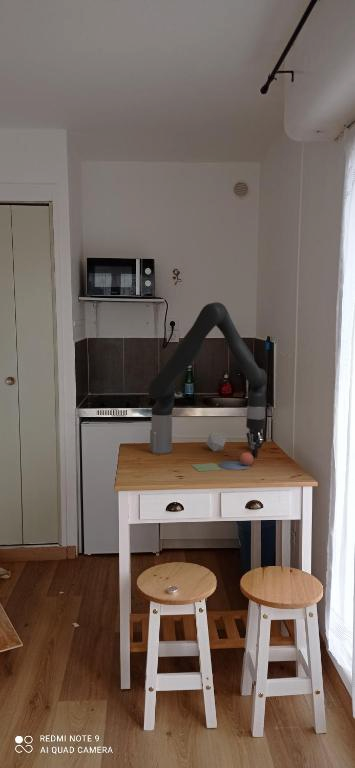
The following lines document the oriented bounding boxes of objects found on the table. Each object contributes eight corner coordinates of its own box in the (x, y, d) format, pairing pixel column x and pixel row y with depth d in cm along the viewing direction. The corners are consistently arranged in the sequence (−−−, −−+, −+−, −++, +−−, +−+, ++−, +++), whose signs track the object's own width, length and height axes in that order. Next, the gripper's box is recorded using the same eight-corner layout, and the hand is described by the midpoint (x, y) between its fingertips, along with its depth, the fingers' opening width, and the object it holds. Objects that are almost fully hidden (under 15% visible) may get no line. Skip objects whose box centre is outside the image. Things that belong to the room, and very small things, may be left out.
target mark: (225, 470, 231) (225, 470, 231) (213, 462, 243) (213, 462, 243) (255, 468, 235) (255, 468, 235) (242, 460, 247) (242, 460, 247)
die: (218, 448, 271) (206, 432, 270) (232, 441, 267) (220, 425, 265) (212, 458, 265) (199, 441, 263) (226, 451, 260) (214, 435, 258)
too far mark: (198, 471, 230) (198, 471, 230) (191, 465, 239) (191, 464, 239) (222, 469, 232) (222, 469, 232) (214, 463, 242) (214, 463, 242)
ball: (257, 462, 239) (247, 470, 237) (250, 457, 244) (240, 465, 242) (253, 452, 236) (243, 460, 235) (245, 447, 241) (235, 455, 240)
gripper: (241, 414, 244) (239, 454, 247) (254, 420, 232) (252, 462, 234) (257, 413, 247) (256, 453, 249) (271, 419, 234) (269, 461, 236)
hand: (254, 457), depth 242 cm, fingers closed
